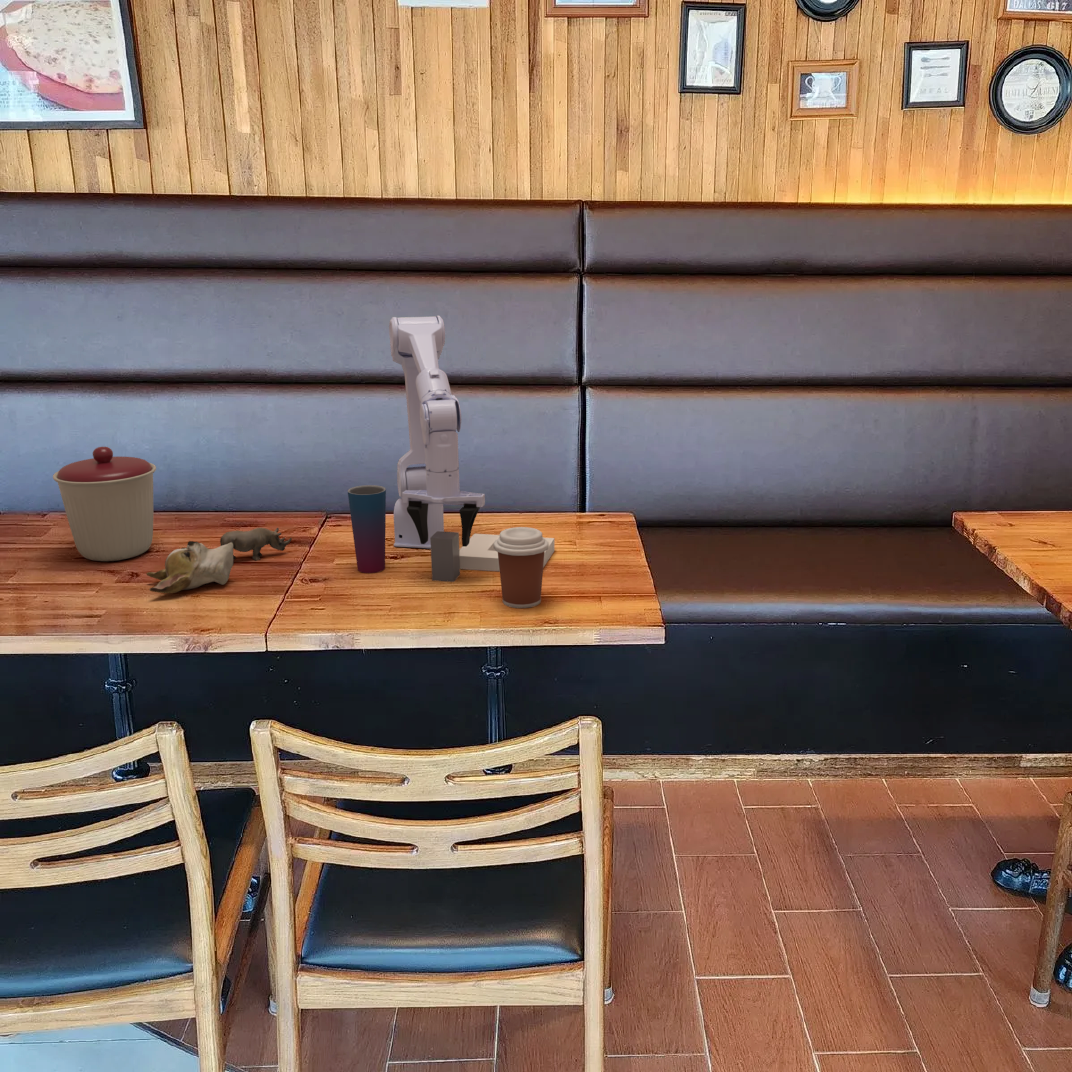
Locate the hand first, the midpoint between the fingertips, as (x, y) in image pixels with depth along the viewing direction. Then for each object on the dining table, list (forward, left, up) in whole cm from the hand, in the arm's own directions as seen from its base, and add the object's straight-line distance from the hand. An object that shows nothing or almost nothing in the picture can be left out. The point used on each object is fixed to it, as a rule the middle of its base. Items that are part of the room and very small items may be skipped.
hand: (445, 543), depth 179 cm
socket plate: (+8, +12, -6) cm, 16 cm away
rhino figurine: (-39, +4, -7) cm, 40 cm away
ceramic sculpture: (-42, -13, -7) cm, 45 cm away
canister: (-67, +1, -7) cm, 67 cm away
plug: (0, 0, -6) cm, 6 cm away
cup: (-15, +2, -7) cm, 17 cm away
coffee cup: (+16, -9, -7) cm, 19 cm away
